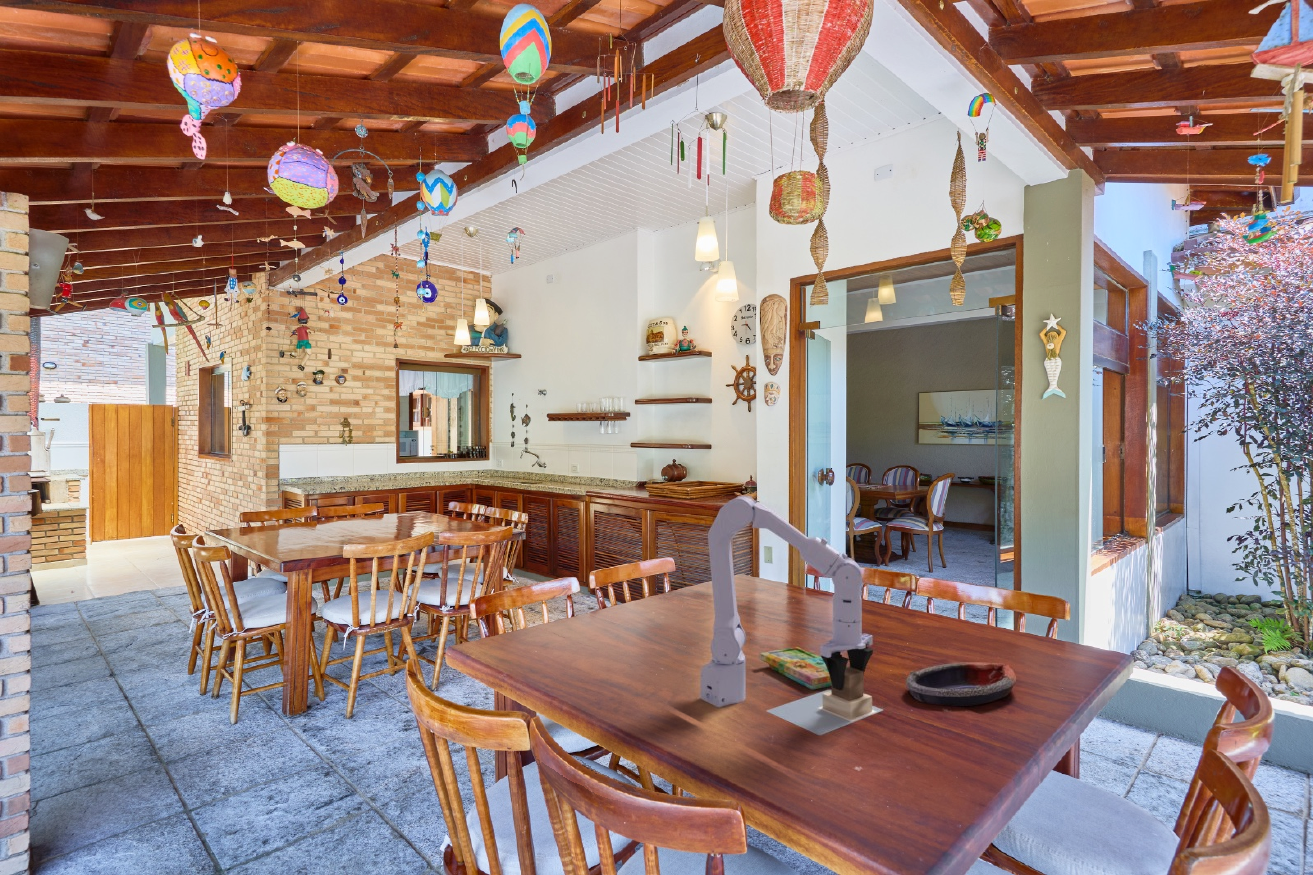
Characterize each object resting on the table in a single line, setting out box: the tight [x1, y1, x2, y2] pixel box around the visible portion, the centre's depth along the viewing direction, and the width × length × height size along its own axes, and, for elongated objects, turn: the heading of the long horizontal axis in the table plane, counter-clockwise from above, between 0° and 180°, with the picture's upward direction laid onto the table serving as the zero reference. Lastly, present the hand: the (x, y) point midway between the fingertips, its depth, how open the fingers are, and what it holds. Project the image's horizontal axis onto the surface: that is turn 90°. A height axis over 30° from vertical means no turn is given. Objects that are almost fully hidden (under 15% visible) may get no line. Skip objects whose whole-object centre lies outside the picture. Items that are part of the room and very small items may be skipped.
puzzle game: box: [758, 646, 832, 690], centre depth 156 cm, size 12×5×20 cm
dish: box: [905, 661, 1017, 707], centre depth 146 cm, size 16×31×5 cm, turn 114°
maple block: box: [822, 691, 873, 720], centre depth 135 cm, size 7×7×3 cm
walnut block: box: [831, 665, 864, 701], centre depth 135 cm, size 4×4×5 cm
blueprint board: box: [765, 689, 884, 736], centre depth 134 cm, size 20×14×1 cm
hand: (847, 685), depth 135 cm, fingers open, 6 cm apart
